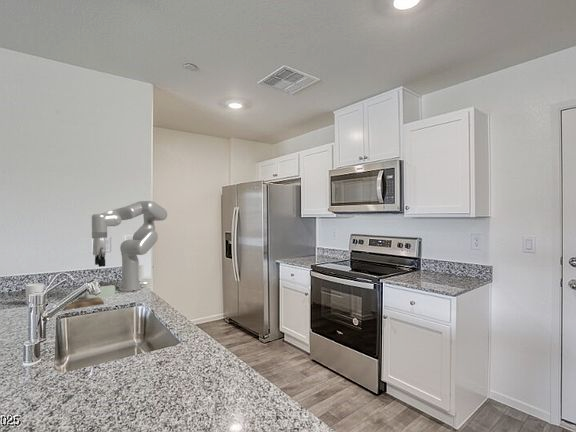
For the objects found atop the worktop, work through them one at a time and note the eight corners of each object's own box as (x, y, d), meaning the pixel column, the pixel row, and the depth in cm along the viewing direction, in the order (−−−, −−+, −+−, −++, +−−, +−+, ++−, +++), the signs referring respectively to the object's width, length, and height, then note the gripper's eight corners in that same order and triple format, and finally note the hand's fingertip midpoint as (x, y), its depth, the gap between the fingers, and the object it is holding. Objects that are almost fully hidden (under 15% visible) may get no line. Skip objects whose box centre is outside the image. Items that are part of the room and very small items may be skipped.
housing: (112, 294, 188) (112, 285, 188) (115, 296, 184) (115, 286, 184) (84, 298, 179) (84, 288, 179) (87, 300, 174) (87, 290, 174)
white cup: (35, 305, 165) (35, 285, 165) (21, 305, 165) (21, 286, 165) (47, 301, 173) (47, 283, 173) (33, 301, 173) (33, 283, 173)
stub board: (98, 299, 175) (98, 290, 175) (103, 303, 166) (103, 294, 166) (53, 306, 162) (53, 296, 162) (56, 311, 153) (56, 300, 153)
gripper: (89, 235, 185) (89, 264, 185) (95, 236, 172) (95, 267, 172) (103, 234, 190) (104, 263, 190) (110, 235, 177) (111, 266, 177)
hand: (100, 265), depth 181 cm, fingers open, 9 cm apart
